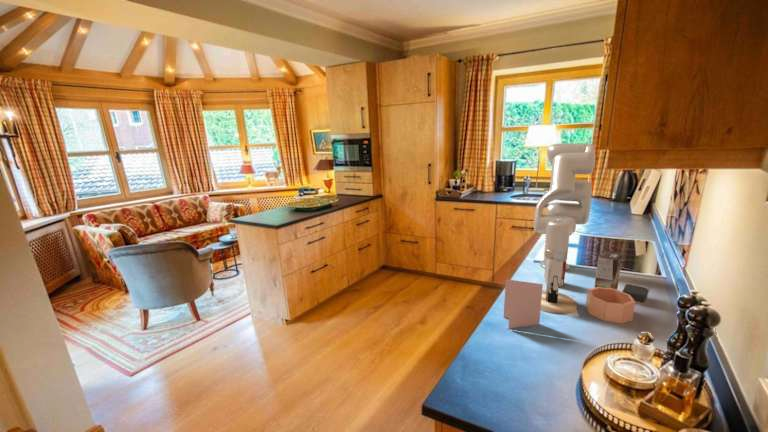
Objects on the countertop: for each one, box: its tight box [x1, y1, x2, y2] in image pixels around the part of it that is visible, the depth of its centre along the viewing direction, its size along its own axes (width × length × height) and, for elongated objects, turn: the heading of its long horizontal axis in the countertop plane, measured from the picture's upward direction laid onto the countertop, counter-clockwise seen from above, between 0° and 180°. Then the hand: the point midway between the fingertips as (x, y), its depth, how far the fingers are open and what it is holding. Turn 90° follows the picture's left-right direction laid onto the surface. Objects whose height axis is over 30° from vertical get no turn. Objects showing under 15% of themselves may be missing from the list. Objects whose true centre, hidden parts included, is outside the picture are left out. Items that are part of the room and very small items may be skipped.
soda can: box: [558, 261, 567, 288], centre depth 139 cm, size 7×7×12 cm
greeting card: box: [503, 279, 544, 331], centre depth 109 cm, size 11×7×15 cm, turn 66°
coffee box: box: [593, 250, 623, 290], centre depth 130 cm, size 9×6×16 cm
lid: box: [541, 285, 578, 315], centre depth 124 cm, size 17×17×6 cm
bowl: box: [585, 287, 636, 324], centre depth 116 cm, size 13×13×7 cm
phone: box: [622, 283, 649, 303], centre depth 131 cm, size 7×1×15 cm
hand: (551, 298), depth 125 cm, fingers open, 4 cm apart
